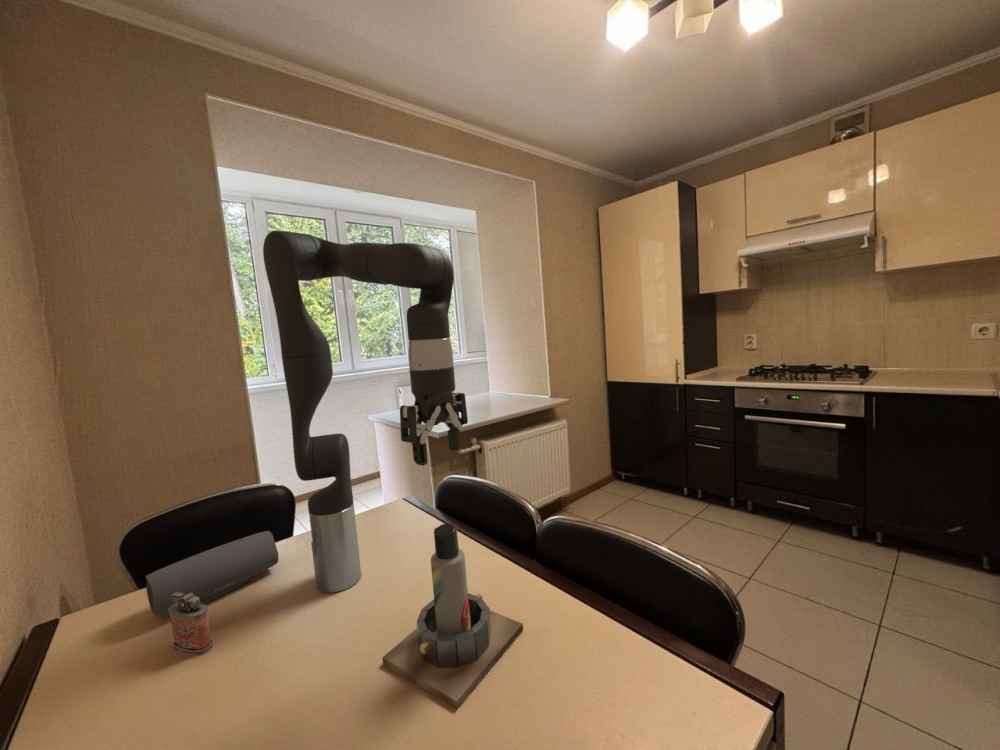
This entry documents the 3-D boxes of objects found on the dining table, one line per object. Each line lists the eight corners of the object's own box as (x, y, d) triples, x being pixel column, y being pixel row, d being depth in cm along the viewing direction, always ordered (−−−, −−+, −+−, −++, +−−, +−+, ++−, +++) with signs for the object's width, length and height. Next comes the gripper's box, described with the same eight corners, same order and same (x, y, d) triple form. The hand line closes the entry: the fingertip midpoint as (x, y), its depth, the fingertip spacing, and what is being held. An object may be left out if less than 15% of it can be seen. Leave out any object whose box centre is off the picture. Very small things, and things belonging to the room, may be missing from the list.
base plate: (383, 664, 68) (382, 656, 67) (456, 600, 83) (456, 593, 83) (457, 709, 58) (456, 699, 58) (524, 627, 74) (524, 620, 74)
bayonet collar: (398, 655, 68) (395, 630, 67) (457, 603, 80) (455, 582, 79) (453, 686, 61) (450, 658, 60) (508, 625, 73) (506, 601, 72)
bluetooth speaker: (266, 562, 103) (261, 523, 102) (281, 574, 97) (276, 534, 96) (149, 611, 86) (142, 566, 85) (158, 630, 80) (150, 582, 79)
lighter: (218, 644, 75) (211, 592, 74) (199, 658, 72) (191, 604, 71) (187, 636, 78) (180, 586, 77) (168, 649, 74) (160, 597, 74)
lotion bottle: (475, 629, 73) (466, 520, 71) (466, 653, 67) (456, 536, 65) (444, 626, 74) (434, 519, 72) (433, 650, 68) (422, 535, 66)
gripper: (416, 371, 63) (425, 473, 65) (474, 361, 74) (480, 448, 76) (384, 370, 67) (393, 466, 69) (443, 361, 79) (449, 443, 81)
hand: (439, 456), depth 73 cm, fingers open, 8 cm apart
